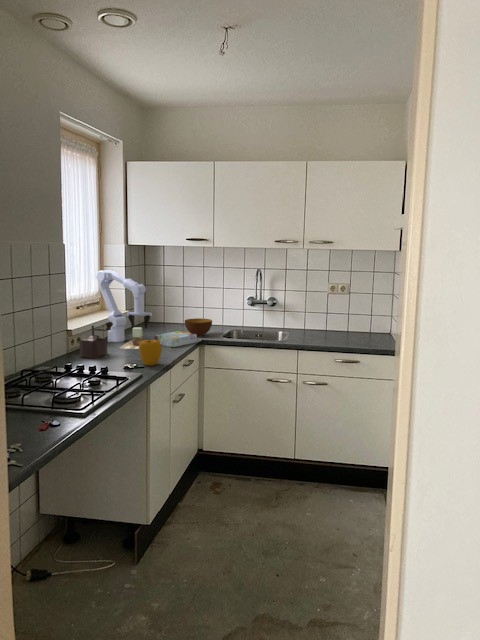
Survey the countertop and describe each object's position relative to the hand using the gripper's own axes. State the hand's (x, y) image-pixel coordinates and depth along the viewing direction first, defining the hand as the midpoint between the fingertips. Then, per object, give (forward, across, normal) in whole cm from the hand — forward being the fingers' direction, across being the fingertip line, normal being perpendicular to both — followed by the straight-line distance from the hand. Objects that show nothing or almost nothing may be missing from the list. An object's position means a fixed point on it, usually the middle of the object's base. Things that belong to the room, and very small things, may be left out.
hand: (139, 328), depth 315 cm
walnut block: (+9, 0, -5) cm, 10 cm away
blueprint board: (+10, +1, -4) cm, 11 cm away
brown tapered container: (+10, -15, -31) cm, 36 cm away
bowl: (+10, +30, +31) cm, 45 cm away
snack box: (+7, +14, +9) cm, 18 cm away
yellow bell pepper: (+10, +18, -48) cm, 53 cm away
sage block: (+4, 0, -5) cm, 7 cm away
